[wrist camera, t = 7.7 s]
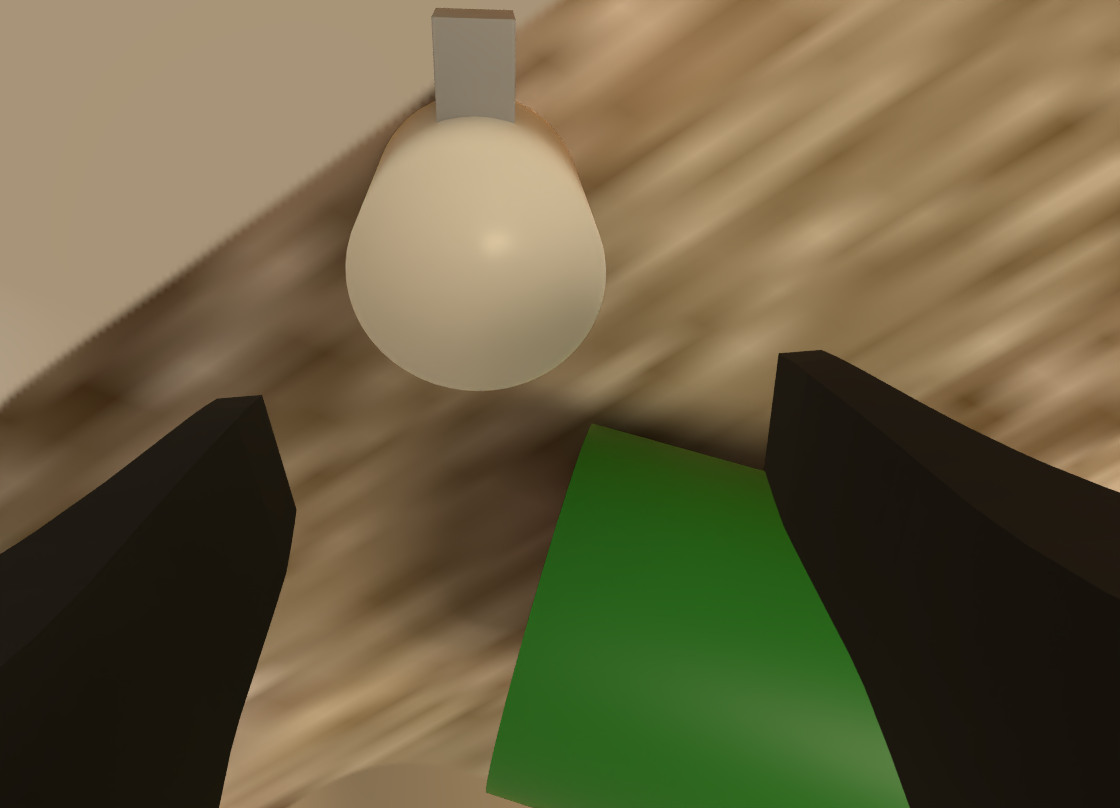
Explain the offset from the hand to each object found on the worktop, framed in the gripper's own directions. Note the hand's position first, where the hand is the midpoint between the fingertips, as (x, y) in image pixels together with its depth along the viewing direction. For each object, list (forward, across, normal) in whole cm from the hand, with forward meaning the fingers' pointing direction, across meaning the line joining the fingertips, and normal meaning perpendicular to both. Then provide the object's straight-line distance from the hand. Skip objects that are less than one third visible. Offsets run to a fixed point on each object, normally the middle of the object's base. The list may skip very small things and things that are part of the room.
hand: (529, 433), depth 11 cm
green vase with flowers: (+6, 0, +10) cm, 11 cm away
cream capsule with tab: (+10, +1, 0) cm, 10 cm away
